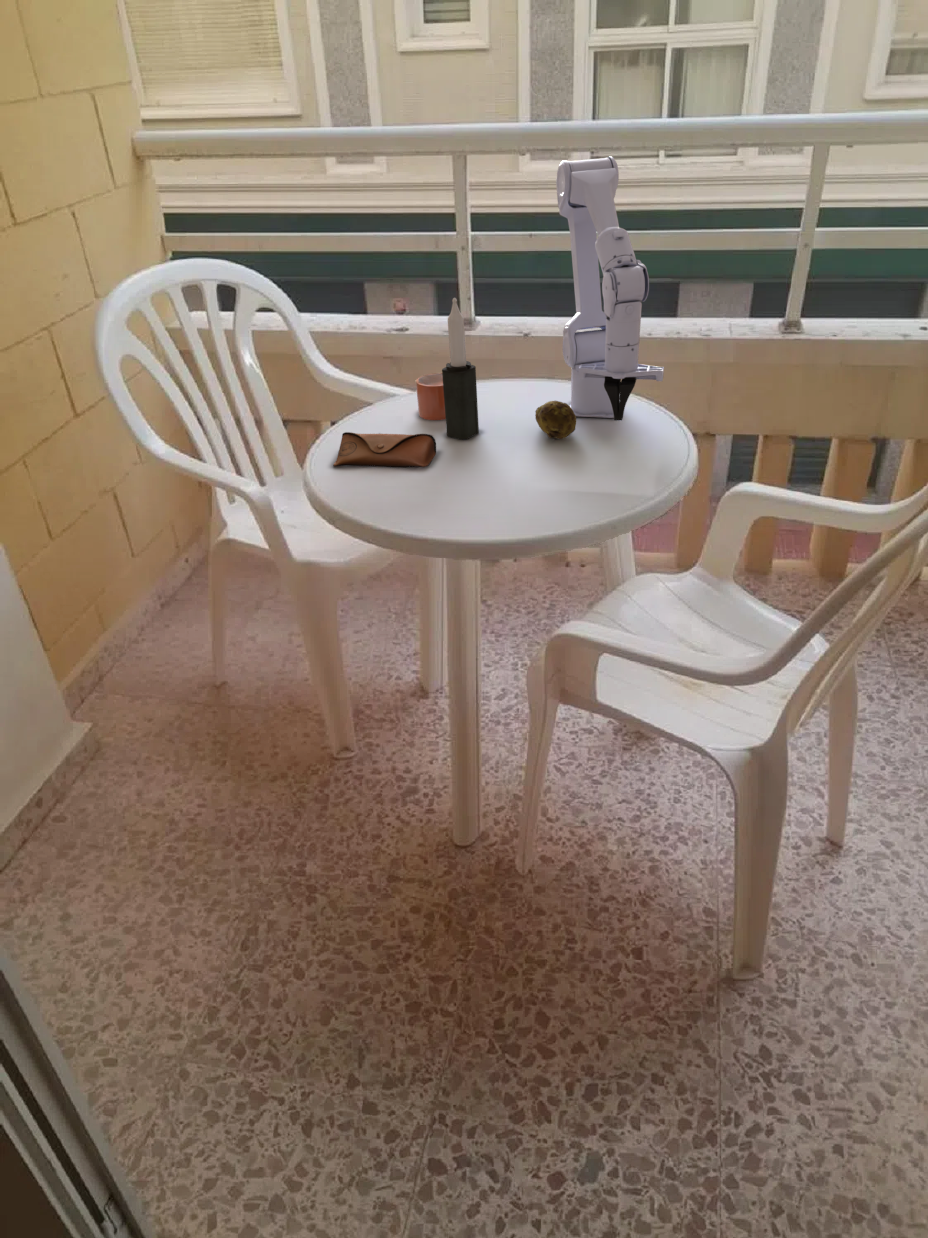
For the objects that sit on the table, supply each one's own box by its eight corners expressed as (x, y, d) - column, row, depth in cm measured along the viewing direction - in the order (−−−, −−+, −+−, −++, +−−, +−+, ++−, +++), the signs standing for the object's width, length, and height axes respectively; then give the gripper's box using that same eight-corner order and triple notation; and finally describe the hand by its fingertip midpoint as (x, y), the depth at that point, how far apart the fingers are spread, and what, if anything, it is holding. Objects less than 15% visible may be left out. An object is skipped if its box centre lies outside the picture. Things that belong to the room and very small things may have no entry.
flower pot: (462, 406, 170) (460, 373, 166) (451, 421, 164) (449, 386, 160) (425, 405, 172) (422, 372, 168) (413, 419, 166) (410, 385, 162)
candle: (465, 440, 155) (457, 302, 141) (444, 435, 158) (433, 299, 143) (481, 431, 158) (474, 296, 144) (460, 426, 161) (451, 293, 147)
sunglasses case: (330, 466, 148) (331, 428, 147) (342, 470, 155) (343, 434, 154) (428, 467, 145) (429, 428, 144) (436, 471, 152) (437, 435, 151)
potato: (582, 426, 157) (583, 385, 153) (573, 453, 147) (573, 410, 143) (539, 424, 159) (539, 384, 155) (527, 451, 149) (526, 408, 145)
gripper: (576, 347, 139) (574, 424, 146) (664, 349, 135) (657, 428, 143) (582, 335, 144) (581, 410, 152) (667, 337, 141) (661, 413, 148)
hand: (618, 418), depth 148 cm, fingers closed
